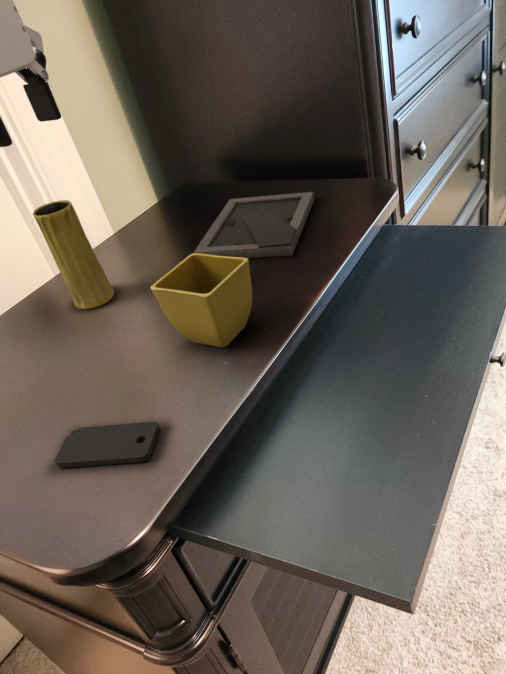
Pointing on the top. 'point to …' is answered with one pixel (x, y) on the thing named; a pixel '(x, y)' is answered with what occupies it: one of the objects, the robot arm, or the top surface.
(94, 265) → the vase
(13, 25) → the robot arm
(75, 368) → the top surface
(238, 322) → the flower pot
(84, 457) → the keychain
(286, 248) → the picture frame
